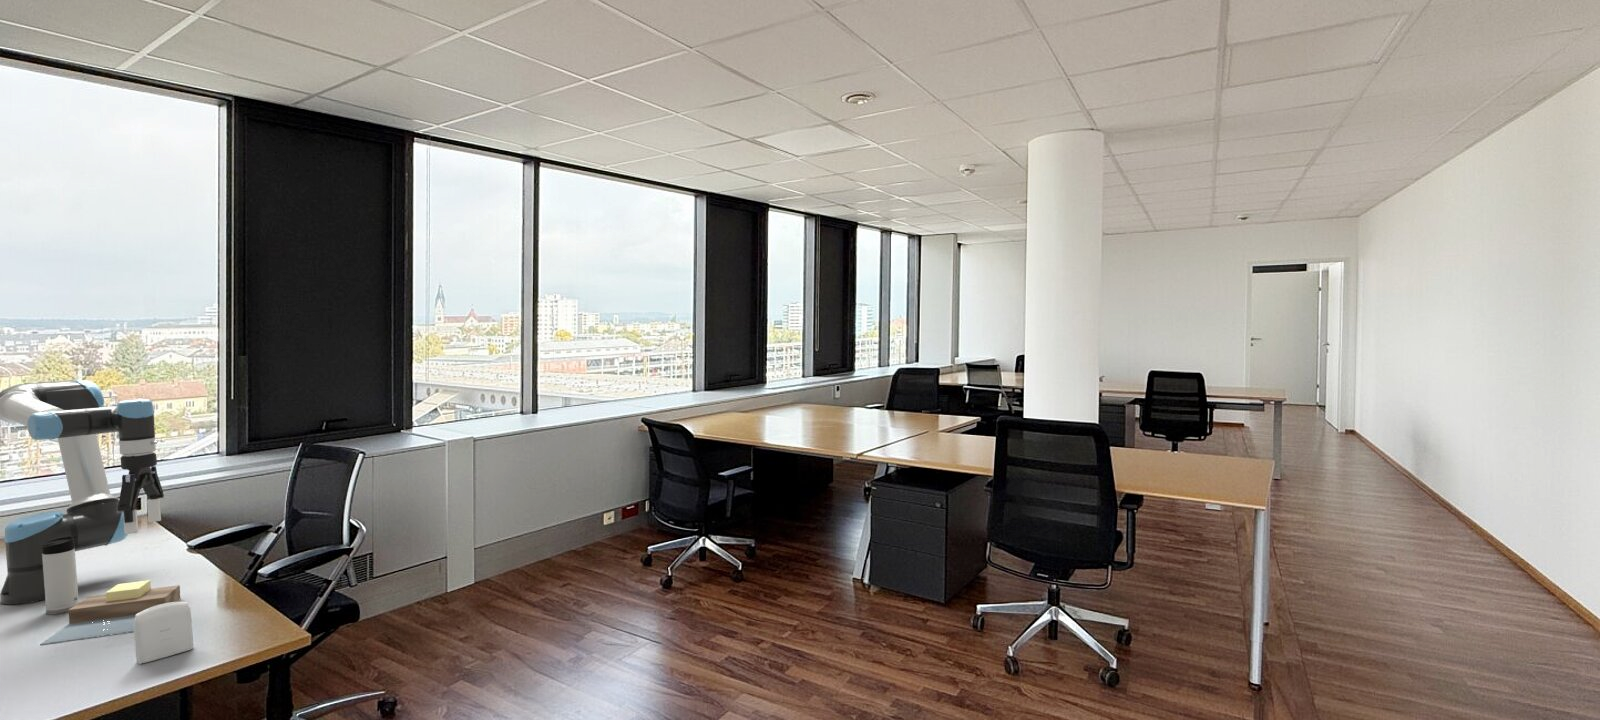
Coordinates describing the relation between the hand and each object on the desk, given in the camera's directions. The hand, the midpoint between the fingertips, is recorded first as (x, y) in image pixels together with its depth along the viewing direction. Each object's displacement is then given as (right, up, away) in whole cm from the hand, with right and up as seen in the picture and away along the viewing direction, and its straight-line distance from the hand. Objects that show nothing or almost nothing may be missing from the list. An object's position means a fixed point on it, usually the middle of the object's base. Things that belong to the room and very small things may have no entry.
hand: (143, 527), depth 204 cm
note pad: (+2, -17, -7) cm, 19 cm away
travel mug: (-16, -22, -7) cm, 28 cm away
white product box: (+37, -23, -35) cm, 56 cm away
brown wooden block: (+3, -21, -8) cm, 23 cm away
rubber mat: (+8, -22, -19) cm, 30 cm away
